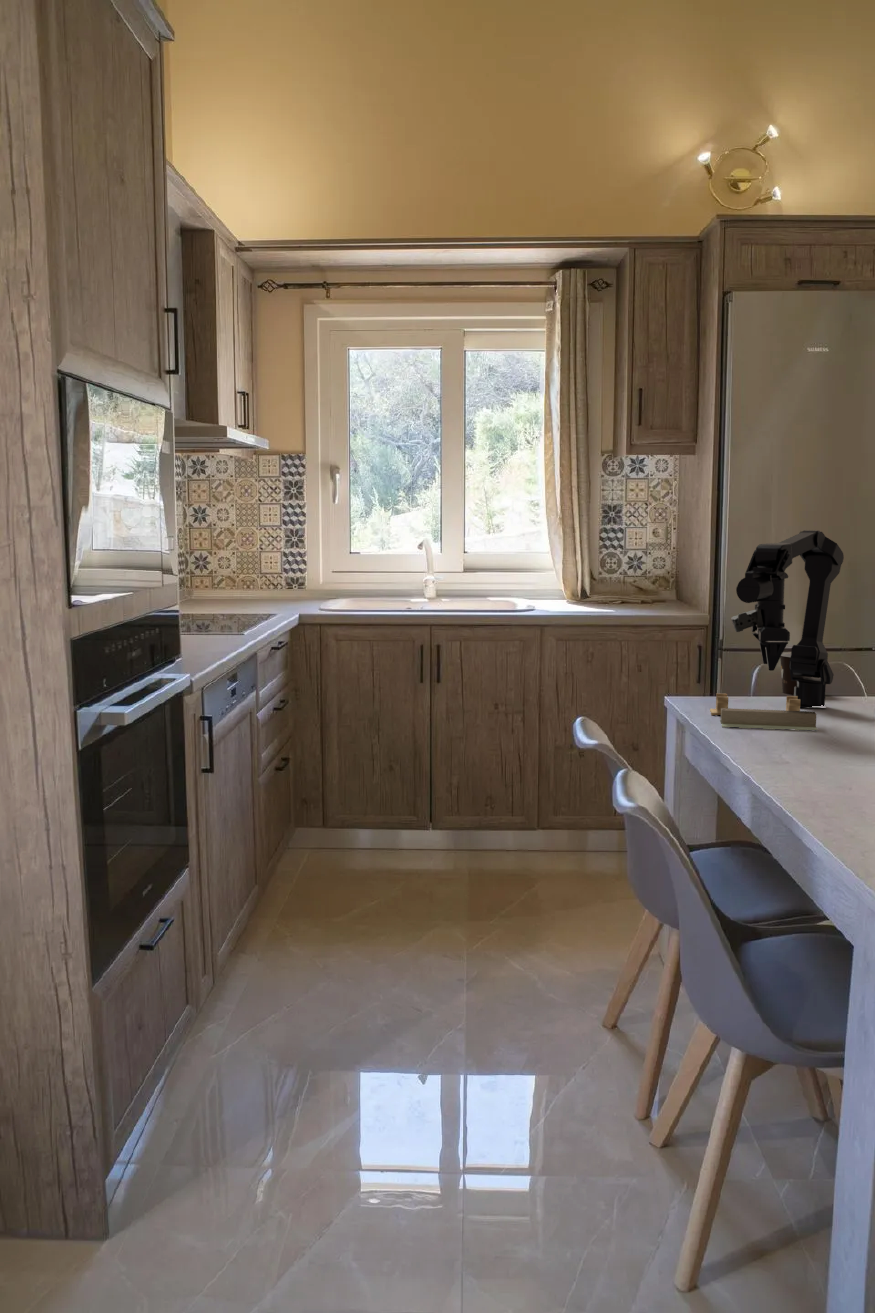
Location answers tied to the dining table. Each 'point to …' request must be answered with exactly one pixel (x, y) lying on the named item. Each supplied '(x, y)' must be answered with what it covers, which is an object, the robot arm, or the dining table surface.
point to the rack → (722, 702)
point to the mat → (768, 727)
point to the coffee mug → (787, 675)
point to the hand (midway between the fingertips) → (768, 667)
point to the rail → (768, 717)
